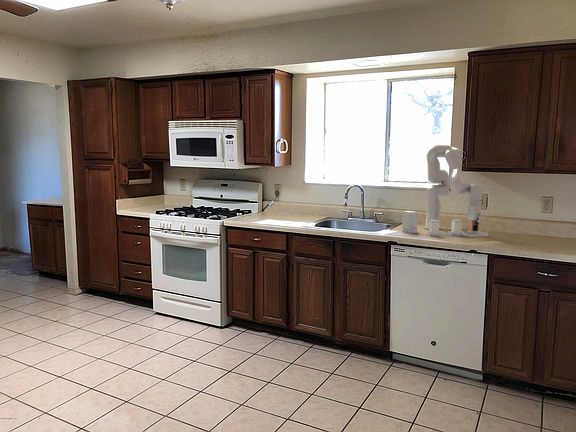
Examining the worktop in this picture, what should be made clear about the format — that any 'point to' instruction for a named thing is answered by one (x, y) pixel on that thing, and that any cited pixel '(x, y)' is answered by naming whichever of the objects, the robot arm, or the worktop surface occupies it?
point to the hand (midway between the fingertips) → (473, 229)
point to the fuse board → (450, 234)
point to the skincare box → (409, 222)
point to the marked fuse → (471, 226)
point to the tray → (474, 234)
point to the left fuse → (434, 227)
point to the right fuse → (456, 227)
